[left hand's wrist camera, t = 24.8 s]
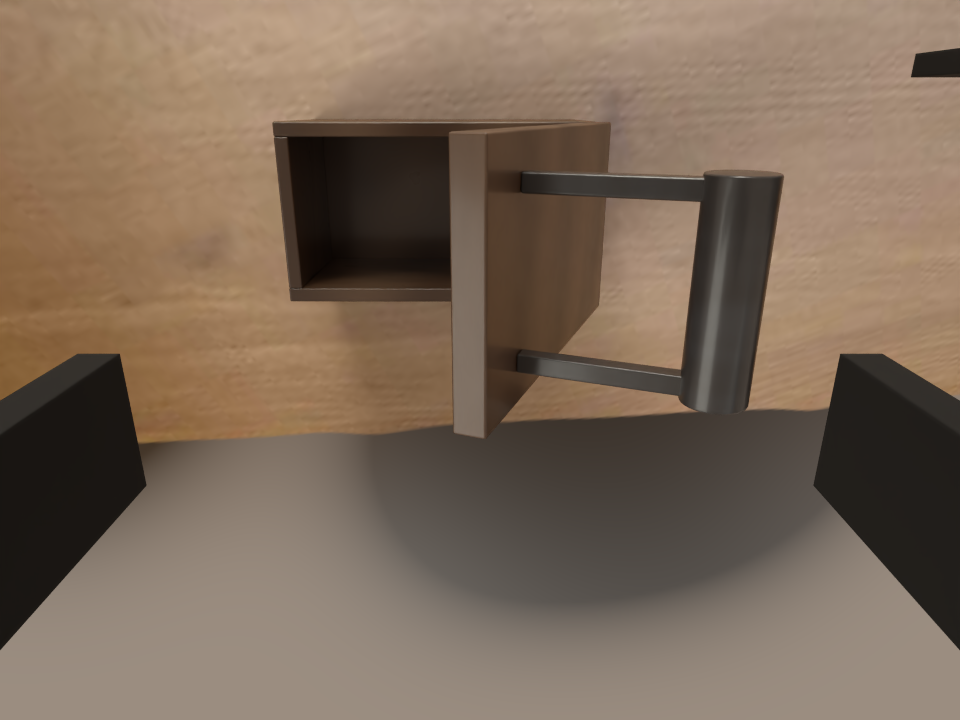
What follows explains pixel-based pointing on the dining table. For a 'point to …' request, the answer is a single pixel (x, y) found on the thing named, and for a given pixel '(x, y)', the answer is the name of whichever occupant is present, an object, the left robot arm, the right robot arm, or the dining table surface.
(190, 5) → the dining table surface
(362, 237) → the chest
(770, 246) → the lid
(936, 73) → the right robot arm
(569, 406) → the dining table surface
